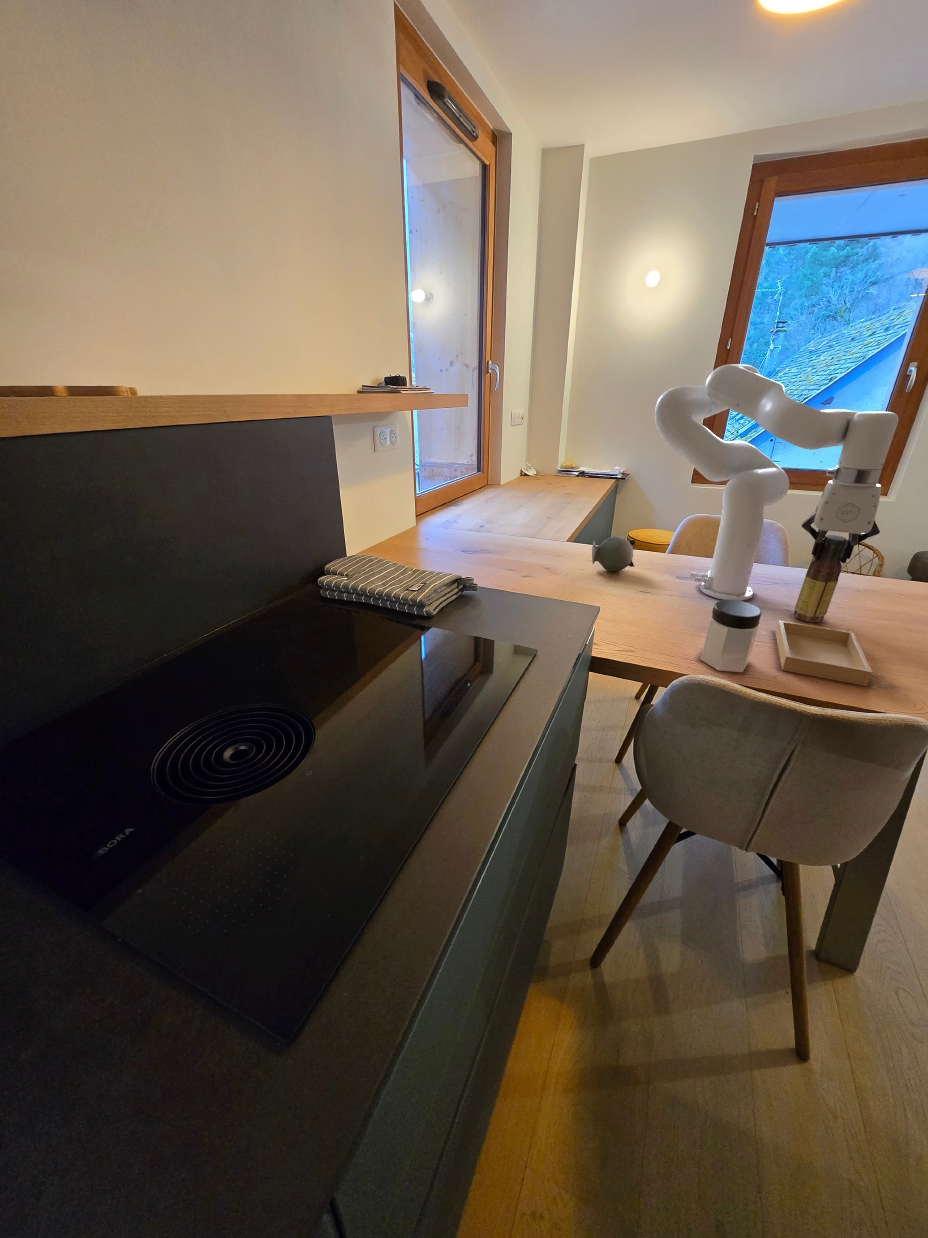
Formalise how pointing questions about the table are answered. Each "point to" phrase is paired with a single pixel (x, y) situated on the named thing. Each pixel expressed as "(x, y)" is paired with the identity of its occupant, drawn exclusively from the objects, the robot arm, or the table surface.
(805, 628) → the tray
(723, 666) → the jar
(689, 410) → the robot arm
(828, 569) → the sauce bottle
